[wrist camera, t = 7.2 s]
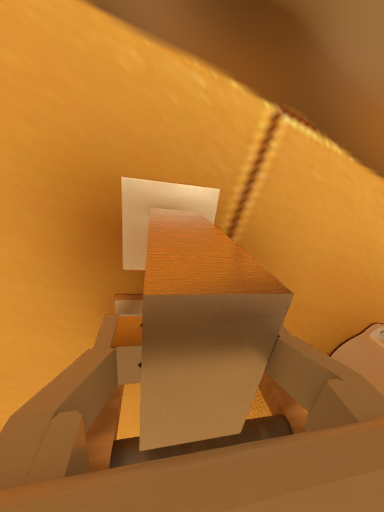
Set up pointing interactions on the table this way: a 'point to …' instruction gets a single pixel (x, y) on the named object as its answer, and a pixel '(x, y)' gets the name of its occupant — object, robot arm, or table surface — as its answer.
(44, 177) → the table surface
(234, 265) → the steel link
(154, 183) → the ceramic tile
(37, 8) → the table surface
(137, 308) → the rail stand
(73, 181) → the table surface
